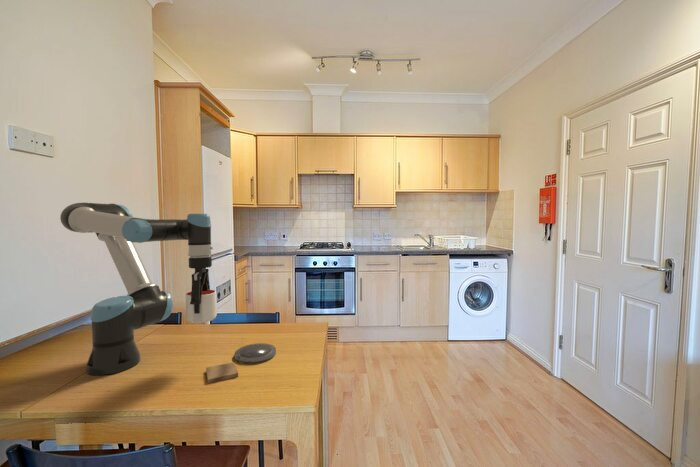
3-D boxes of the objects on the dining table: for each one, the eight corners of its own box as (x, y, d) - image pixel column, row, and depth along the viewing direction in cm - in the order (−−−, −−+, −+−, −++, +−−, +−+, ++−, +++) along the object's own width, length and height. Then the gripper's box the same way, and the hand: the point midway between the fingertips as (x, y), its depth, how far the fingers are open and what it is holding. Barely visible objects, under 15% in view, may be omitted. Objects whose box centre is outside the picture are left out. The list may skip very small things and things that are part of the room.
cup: (222, 316, 118) (221, 289, 118) (207, 324, 108) (206, 295, 108) (197, 315, 119) (196, 289, 119) (180, 323, 110) (179, 295, 109)
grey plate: (232, 365, 111) (232, 360, 111) (237, 348, 125) (237, 344, 125) (275, 361, 114) (275, 356, 114) (275, 345, 129) (275, 341, 129)
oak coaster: (208, 383, 99) (207, 379, 99) (206, 371, 107) (206, 367, 107) (238, 376, 103) (238, 372, 103) (234, 365, 111) (234, 362, 111)
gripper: (203, 259, 103) (205, 326, 104) (217, 253, 125) (219, 308, 126) (178, 260, 101) (180, 328, 102) (197, 253, 123) (198, 310, 124)
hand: (201, 317), depth 114 cm, fingers closed on cup, 10 cm apart
